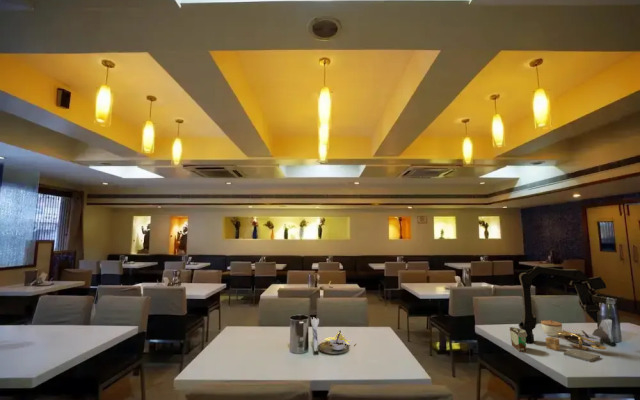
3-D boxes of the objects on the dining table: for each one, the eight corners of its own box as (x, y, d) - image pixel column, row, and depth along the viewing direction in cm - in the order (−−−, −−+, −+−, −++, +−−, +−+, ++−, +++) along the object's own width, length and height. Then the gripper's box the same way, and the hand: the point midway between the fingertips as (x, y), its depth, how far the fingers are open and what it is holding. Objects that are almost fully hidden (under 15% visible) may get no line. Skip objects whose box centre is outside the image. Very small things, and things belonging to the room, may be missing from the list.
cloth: (361, 347, 174) (361, 336, 175) (330, 350, 170) (330, 338, 170) (347, 335, 196) (347, 325, 197) (319, 338, 191) (319, 328, 192)
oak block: (546, 348, 170) (545, 337, 171) (550, 346, 173) (549, 336, 173) (555, 350, 167) (554, 340, 167) (560, 349, 169) (558, 338, 169)
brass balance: (555, 343, 178) (554, 329, 179) (560, 341, 181) (559, 328, 182) (603, 355, 159) (601, 339, 160) (608, 353, 162) (606, 338, 163)
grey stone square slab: (563, 354, 160) (563, 352, 161) (574, 351, 166) (574, 348, 166) (589, 362, 151) (589, 359, 151) (600, 357, 156) (599, 355, 156)
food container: (533, 353, 163) (531, 333, 164) (520, 352, 164) (518, 333, 165) (522, 345, 175) (521, 327, 176) (510, 345, 176) (509, 326, 177)
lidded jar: (566, 336, 192) (564, 320, 193) (559, 339, 186) (557, 323, 187) (546, 331, 201) (544, 317, 202) (539, 334, 195) (537, 319, 196)
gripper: (606, 292, 162) (618, 323, 159) (597, 287, 178) (608, 314, 174) (580, 295, 167) (591, 325, 164) (573, 290, 183) (584, 317, 180)
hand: (594, 320), depth 170 cm, fingers open, 9 cm apart
